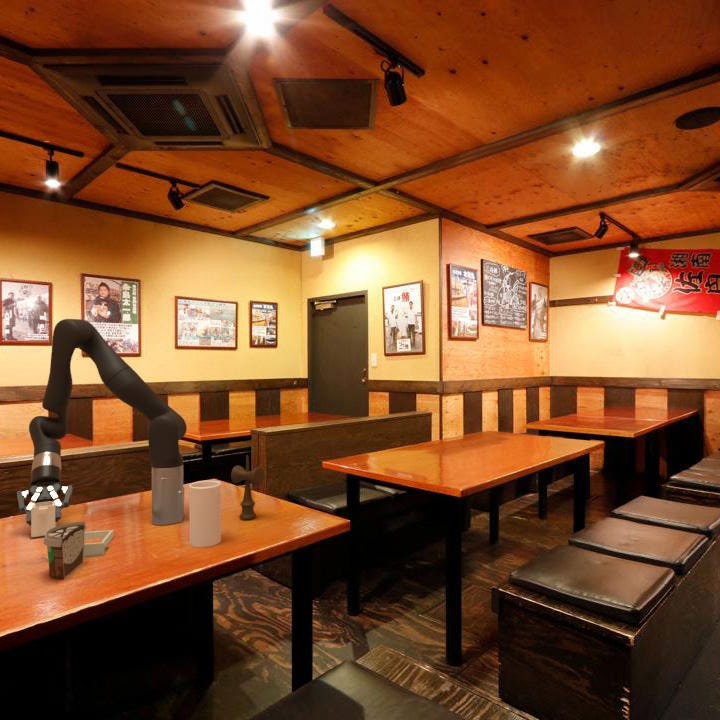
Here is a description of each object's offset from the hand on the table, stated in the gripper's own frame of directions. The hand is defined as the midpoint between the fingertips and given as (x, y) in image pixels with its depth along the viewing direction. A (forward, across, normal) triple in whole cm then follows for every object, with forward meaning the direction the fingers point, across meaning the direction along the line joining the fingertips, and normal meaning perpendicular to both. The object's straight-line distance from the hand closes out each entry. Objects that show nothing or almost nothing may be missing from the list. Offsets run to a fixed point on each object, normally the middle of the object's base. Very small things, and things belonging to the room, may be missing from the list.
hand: (43, 522), depth 140 cm
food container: (+22, +5, -14) cm, 27 cm away
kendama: (+10, +55, -2) cm, 56 cm away
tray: (+13, +11, -6) cm, 18 cm away
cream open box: (+1, 0, +4) cm, 4 cm away
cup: (+20, +39, -12) cm, 46 cm away
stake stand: (+2, +1, +5) cm, 6 cm away
